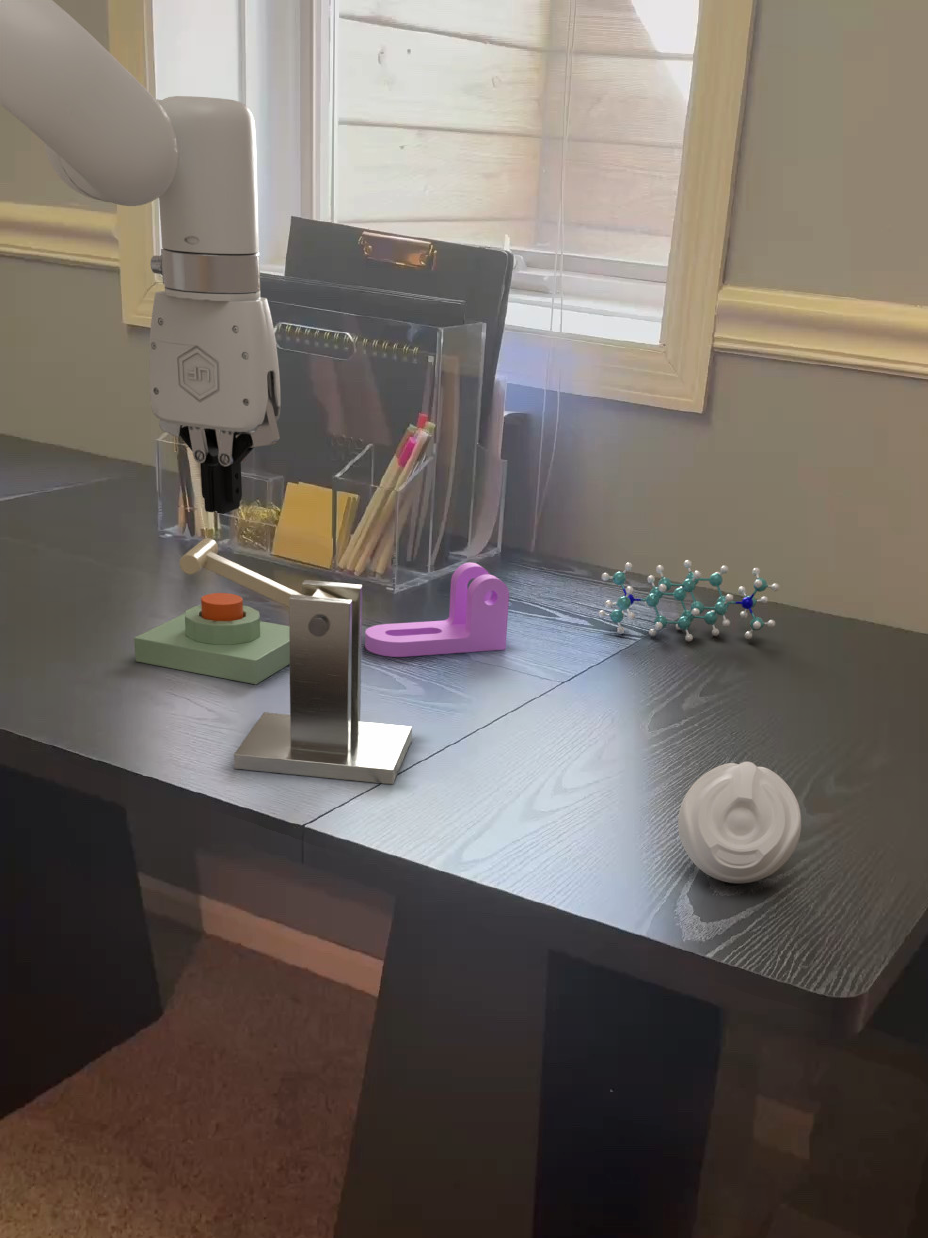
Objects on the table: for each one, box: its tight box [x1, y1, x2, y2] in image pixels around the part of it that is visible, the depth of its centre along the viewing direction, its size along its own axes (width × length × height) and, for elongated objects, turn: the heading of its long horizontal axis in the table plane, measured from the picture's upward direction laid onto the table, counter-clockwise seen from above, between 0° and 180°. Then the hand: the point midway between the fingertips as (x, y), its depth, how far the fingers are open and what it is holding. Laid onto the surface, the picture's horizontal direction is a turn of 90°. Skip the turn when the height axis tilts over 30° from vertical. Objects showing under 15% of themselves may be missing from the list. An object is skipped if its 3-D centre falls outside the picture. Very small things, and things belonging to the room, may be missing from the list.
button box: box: [133, 604, 290, 685], centre depth 123 cm, size 12×10×4 cm
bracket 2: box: [364, 562, 510, 658], centre depth 130 cm, size 13×6×7 cm, turn 113°
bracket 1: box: [233, 579, 413, 785], centre depth 103 cm, size 12×9×13 cm
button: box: [200, 592, 244, 621], centre depth 122 cm, size 4×4×2 cm
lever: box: [179, 537, 338, 608], centre depth 100 cm, size 12×5×2 cm, turn 85°
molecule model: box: [597, 559, 780, 643], centre depth 138 cm, size 8×18×7 cm, turn 95°
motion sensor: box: [677, 761, 802, 884], centre depth 91 cm, size 8×8×8 cm
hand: (222, 509), depth 118 cm, fingers closed
